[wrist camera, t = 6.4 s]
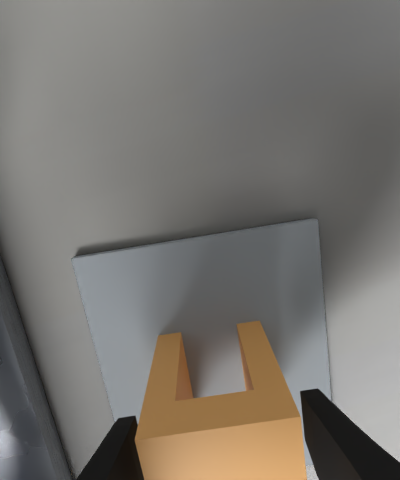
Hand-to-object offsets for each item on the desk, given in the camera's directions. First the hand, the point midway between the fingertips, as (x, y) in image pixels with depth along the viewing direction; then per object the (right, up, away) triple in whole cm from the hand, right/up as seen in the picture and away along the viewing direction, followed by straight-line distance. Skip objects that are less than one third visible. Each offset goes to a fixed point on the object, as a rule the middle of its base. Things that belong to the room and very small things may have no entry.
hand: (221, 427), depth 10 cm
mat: (0, +1, +3) cm, 3 cm away
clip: (0, +1, +3) cm, 3 cm away
